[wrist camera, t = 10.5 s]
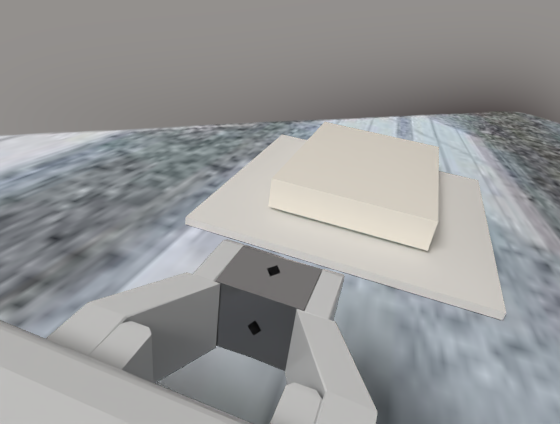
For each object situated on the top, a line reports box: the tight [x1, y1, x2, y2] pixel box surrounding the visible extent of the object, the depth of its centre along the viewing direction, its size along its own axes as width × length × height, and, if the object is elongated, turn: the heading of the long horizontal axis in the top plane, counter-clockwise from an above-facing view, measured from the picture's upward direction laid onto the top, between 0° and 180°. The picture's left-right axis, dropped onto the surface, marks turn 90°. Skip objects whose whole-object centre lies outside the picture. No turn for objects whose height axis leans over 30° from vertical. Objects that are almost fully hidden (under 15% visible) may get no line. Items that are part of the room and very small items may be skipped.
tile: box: [268, 122, 439, 251], centre depth 31 cm, size 10×2×14 cm
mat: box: [185, 135, 506, 320], centre depth 30 cm, size 18×18×1 cm
